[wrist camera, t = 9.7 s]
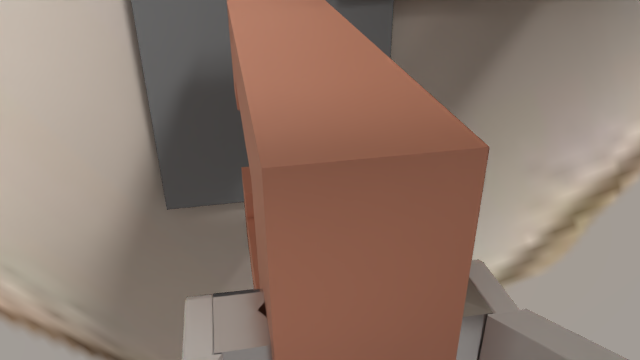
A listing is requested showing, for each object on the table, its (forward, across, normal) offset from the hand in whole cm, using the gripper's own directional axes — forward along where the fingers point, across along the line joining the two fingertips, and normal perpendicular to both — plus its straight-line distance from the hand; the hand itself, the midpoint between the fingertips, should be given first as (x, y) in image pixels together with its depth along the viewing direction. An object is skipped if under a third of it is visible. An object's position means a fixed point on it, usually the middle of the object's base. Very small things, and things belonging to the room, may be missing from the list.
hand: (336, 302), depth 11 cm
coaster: (+14, 0, 0) cm, 14 cm away
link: (+10, 0, 0) cm, 10 cm away
